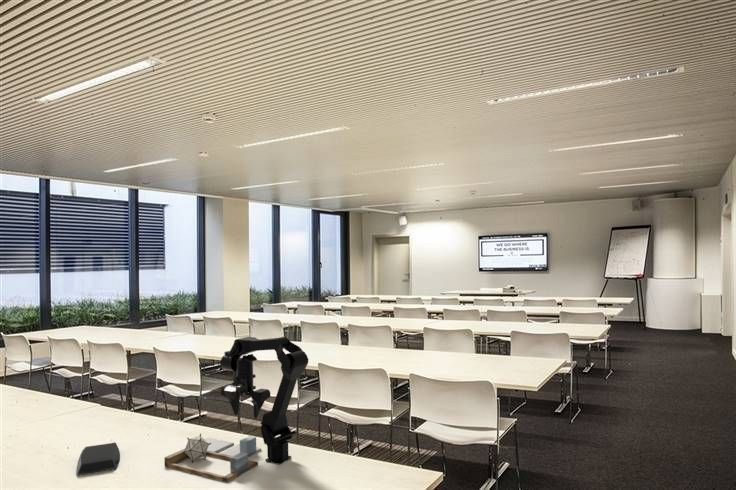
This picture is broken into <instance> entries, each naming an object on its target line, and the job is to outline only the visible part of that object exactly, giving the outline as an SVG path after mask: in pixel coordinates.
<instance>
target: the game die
mask: <svg viewBox="0 0 736 490" xmlns="http://www.w3.org/2000/svg"><path fill="white" fill-rule="evenodd" d="M186 439H187V443H186V445H185V448H184V449H185V451H183V452H182V453H184V452H185V453H186V454H187V455H188V456H189V457H190V458H189V459H191V460H192V461H191V463H192V464H194V461H195V460H199V459H201V458H203V459H207V457H206V456H207V455H205V454H206V451H207V448H208V446H209V445H211V443H209V444H208V443H207V442H206V441H205V440H204V439H205V438H203V437H202V433H200V434H199V436H195V437H191V438H190V437H186Z"/></svg>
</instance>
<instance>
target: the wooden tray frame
mask: <svg viewBox="0 0 736 490" xmlns="http://www.w3.org/2000/svg"><path fill="white" fill-rule="evenodd" d="M183 451H185V448H184V449H180V450H179V451H176V452H174V453H173V452H172V454H169V455H167V456H165V457H164V467H166V468H169V469H173V470H177V471H181V472H185V473H189V474H193V475H197V476H201V477H204V478H207V479H208V478H209V479H213V480H216V481H220V482H224V483H229V482H231V481H232V480H235V479H236V478H239V477H240V476H241V475H243V474H245V473H247V472H249V471H250V470H253V469H255V468H256V467H258V465H259V462H258V461H254V460H252V459H249V457H248V454H247V453H242V452H241V453H239V454H237V455H235V456H229V455H224V454H220V453H221V452H220V453H219V452H217V453H216V452H211V451H206V454H205V456H207V457H212V458H216V459H221V460H225V461H230V462H229V464H230V465H229V466H230V467H229V468H230V473H228V474H226V475H222V474H217V473H213V472H209V471H207V470H201V469H198V468H194V467H189V466H186V465H182V464H180V463H181V462H184V461H186V460H189V459H191V458H190V457H189V456H188V455H187V454H186V453H185V452H184V453H182V452H183Z"/></svg>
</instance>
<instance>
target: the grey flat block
mask: <svg viewBox="0 0 736 490" xmlns="http://www.w3.org/2000/svg"><path fill="white" fill-rule="evenodd" d="M203 439H204V440H205V441H206V442H207V443H208V444H209V443H211V445H209V446H208V448H207V451H211V452H216V453H219V452H220V454H224V455H229V456H235V455H237V454H239V453H241V452H242V453H247V454H248V458H249V457H251V456H253V455H256V454H257V453H259V452H261V451H262V448H261V447H259V446H258V447H257V437H256V436H253V435H248V436H246V437H245V438H242V439H240V440H239V444H236V445H235V446H233V445H234V444H235V443H234V442H232V441H227V440H223V439H217V438H213V437H209V436H208V437H206V438H205V437H204V438H203ZM225 449H226V450H225ZM223 450H224V451H223Z"/></svg>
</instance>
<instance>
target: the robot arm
mask: <svg viewBox="0 0 736 490" xmlns="http://www.w3.org/2000/svg"><path fill="white" fill-rule="evenodd" d="M273 350H274V352H275V353H276V359H277V360H278V362H279V363H280V364H281V366H280V370H281V374H282V376H281V377H282V378H281V380H280V383H279V386H278V390H277V393H276V396H275V398H274V402H273V405H272V408H271V410H270V411H268V412H265V413H264V414H263V415H262V419H261V421H260V431H261V436H262V439H263V445H266V446H267V451H266V452H267V458H265V462H267V463H272V464H276V465H281V464H282V465H283V463H284V462H287V461H288V460H290V459H292V455H289V440H292V439H293V435H294V433H293V432H292V431H291V429H290V427H289V425H288V422H289V421H288V418H287V412H288V408H289V406H290V405H289V404H290V402H291V400H292V399H291V398H292V396H293V393H294V389H295V387H296V383H297V381H298V378H299V377H300V376H301V375H302V374H303V373H304V372H305V371H306V368H307V366H308V365H309V357H308V355H307V353H306V352H305V351H303V349H302V348H301V347H300V346H298V345H297V344H295V343H294V342H292V341H291V340H290V339H289V338H288V337H286V336H281V337H280V336H279V337H273V338H271V337H270V338H261V339H260V338H257V337H254V336H246V337H240V338H236V339H235V340H234V342H233V344H232V346H231V348H230V350H227V351H224V355H223V356H222V357H221V359H220V362H219V366H220V367H221V369H222V370H224V371H225V370H226V371H229V372H230V371H232V372H236V376H234V377H233V382H231V383H230V384H228V385H226V386H222V388H221V390H220V396H222V397H223V398H224V399H227V400H226V401H228V402H229V403H230V406H231V408H232V411H233V413H234V416H238V414H239V409H240V400H241V396H243V395H244V396H247V397H248V396H249V397H250V398H251V400H250V402H251V403H252V405H253V418H254V419H257V418H258V417H259V414H260V413H261V410H262V407H263V405H264V403H265V401H267V400H268V399H269V398H271V391H270V389H266V388H258V389H256V388H257V386H256V385H254V379H255V378H256V374H254V362H256V361H257V360H258V358H257V357H256V356H254V354H253V353H254V352H256V351H257V352H258V351H273ZM284 350H285V351H287V352H288V353H285V351H284Z"/></svg>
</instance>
